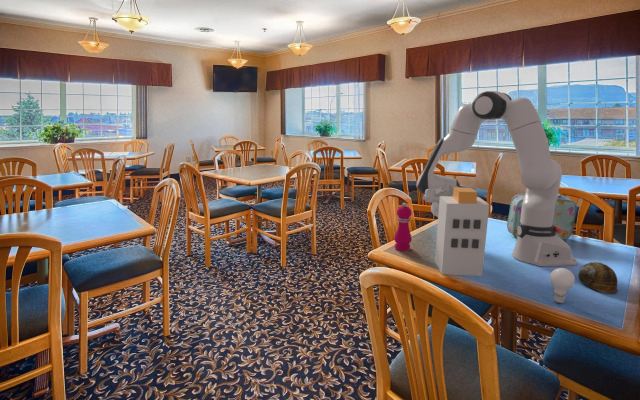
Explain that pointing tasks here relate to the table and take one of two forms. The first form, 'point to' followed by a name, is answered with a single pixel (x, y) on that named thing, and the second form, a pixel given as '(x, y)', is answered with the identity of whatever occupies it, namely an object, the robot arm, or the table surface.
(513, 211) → the lunch box
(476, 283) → the table surface
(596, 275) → the seashell
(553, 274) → the lightbulb
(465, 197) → the handle
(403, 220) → the pepper mill
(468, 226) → the cabinet
